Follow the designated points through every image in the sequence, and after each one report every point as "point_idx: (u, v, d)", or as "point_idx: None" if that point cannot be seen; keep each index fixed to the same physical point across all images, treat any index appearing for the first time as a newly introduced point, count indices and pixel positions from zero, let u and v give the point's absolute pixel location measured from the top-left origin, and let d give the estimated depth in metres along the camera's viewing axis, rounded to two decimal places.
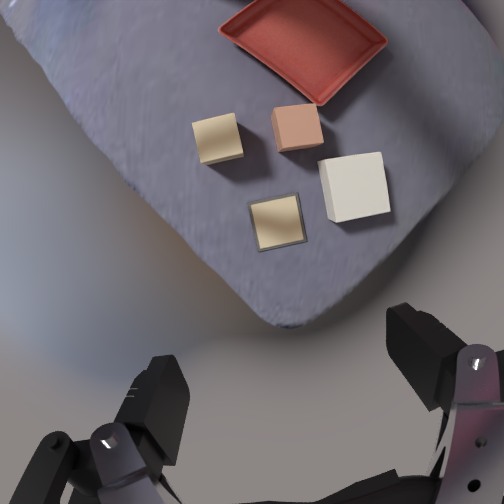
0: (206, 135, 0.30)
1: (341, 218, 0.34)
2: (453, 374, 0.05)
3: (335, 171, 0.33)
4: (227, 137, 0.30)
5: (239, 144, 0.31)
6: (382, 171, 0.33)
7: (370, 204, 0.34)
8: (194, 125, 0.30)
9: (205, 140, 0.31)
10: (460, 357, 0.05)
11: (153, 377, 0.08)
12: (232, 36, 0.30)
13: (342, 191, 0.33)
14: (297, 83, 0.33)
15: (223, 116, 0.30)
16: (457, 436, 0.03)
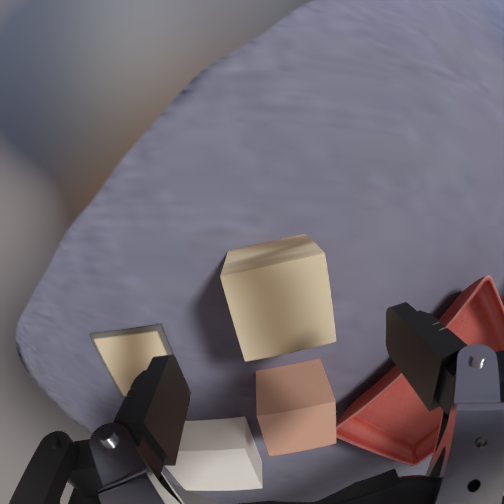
0: (290, 288, 0.13)
1: None
2: (453, 374, 0.05)
3: (227, 456, 0.18)
4: (281, 333, 0.14)
5: (263, 355, 0.14)
6: (235, 489, 0.20)
7: (188, 478, 0.19)
8: (317, 259, 0.13)
9: (277, 285, 0.13)
10: (460, 356, 0.05)
11: (153, 377, 0.08)
12: None
13: (198, 460, 0.19)
14: (372, 390, 0.20)
15: (331, 322, 0.14)
16: (457, 436, 0.03)
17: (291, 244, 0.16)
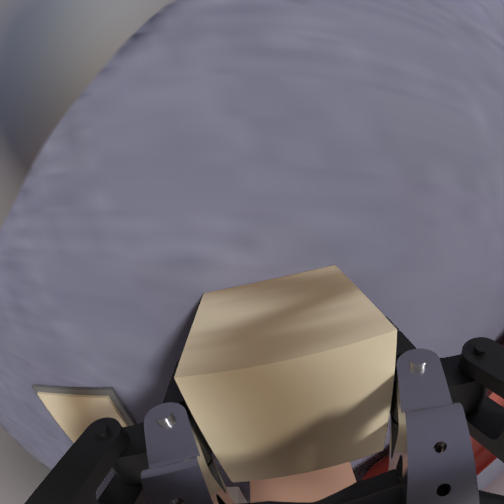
0: (320, 396, 0.06)
1: None
2: None
3: None
4: (295, 454, 0.06)
5: (262, 476, 0.07)
6: None
7: None
8: (382, 342, 0.06)
9: (294, 394, 0.06)
10: (400, 364, 0.06)
11: None
12: None
13: None
14: None
15: (381, 431, 0.06)
16: (412, 445, 0.03)
17: (316, 292, 0.08)
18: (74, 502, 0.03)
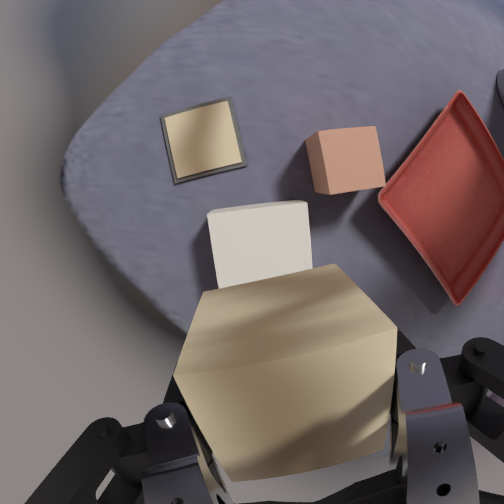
0: (320, 395, 0.06)
1: (213, 223, 0.22)
2: None
3: (288, 218, 0.22)
4: (295, 453, 0.06)
5: (262, 476, 0.07)
6: None
7: (233, 272, 0.23)
8: (382, 340, 0.05)
9: (293, 392, 0.06)
10: (400, 364, 0.06)
11: None
12: (451, 107, 0.22)
13: (255, 228, 0.23)
14: (401, 174, 0.24)
15: (382, 430, 0.06)
16: (412, 446, 0.03)
17: (316, 290, 0.08)
18: (74, 502, 0.03)
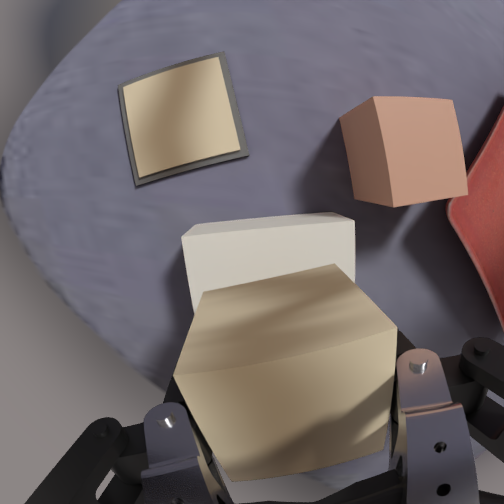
0: (320, 395, 0.06)
1: (191, 252, 0.13)
2: None
3: (321, 246, 0.13)
4: (295, 453, 0.06)
5: (262, 476, 0.07)
6: None
7: None
8: (382, 340, 0.05)
9: (293, 392, 0.06)
10: (400, 364, 0.06)
11: None
12: None
13: (265, 262, 0.13)
14: None
15: (381, 430, 0.06)
16: (413, 445, 0.03)
17: (316, 290, 0.08)
18: (74, 502, 0.03)
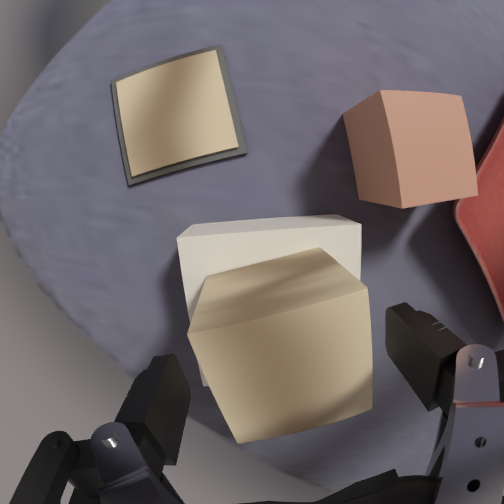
0: (308, 348, 0.07)
1: (187, 254, 0.12)
2: (452, 374, 0.05)
3: (326, 251, 0.12)
4: (292, 409, 0.08)
5: (265, 435, 0.08)
6: None
7: None
8: (355, 298, 0.07)
9: (286, 346, 0.07)
10: (459, 357, 0.05)
11: (154, 377, 0.08)
12: None
13: None
14: None
15: (368, 387, 0.08)
16: (456, 436, 0.03)
17: (303, 267, 0.10)
18: None
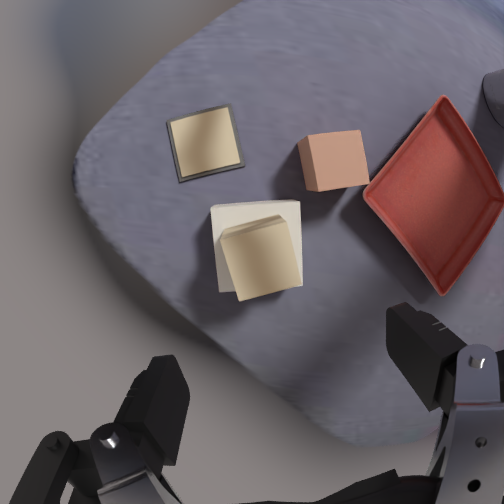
0: (266, 246, 0.21)
1: (215, 216, 0.25)
2: (453, 374, 0.05)
3: (282, 214, 0.25)
4: (262, 278, 0.21)
5: (251, 295, 0.22)
6: None
7: None
8: (282, 225, 0.20)
9: (257, 244, 0.21)
10: (461, 356, 0.05)
11: (153, 377, 0.08)
12: (436, 111, 0.25)
13: None
14: (386, 173, 0.27)
15: (296, 269, 0.21)
16: (457, 436, 0.03)
17: (267, 220, 0.23)
18: None
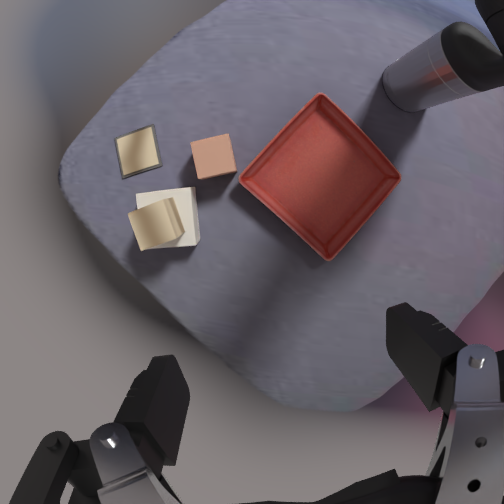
0: (152, 215, 0.33)
1: (138, 199, 0.37)
2: (453, 374, 0.05)
3: (179, 196, 0.37)
4: (152, 235, 0.33)
5: (147, 246, 0.33)
6: (177, 244, 0.39)
7: None
8: (160, 202, 0.32)
9: (147, 214, 0.33)
10: (460, 357, 0.05)
11: (153, 377, 0.08)
12: (316, 107, 0.37)
13: None
14: (265, 162, 0.39)
15: (171, 229, 0.33)
16: (457, 436, 0.03)
17: None
18: None
